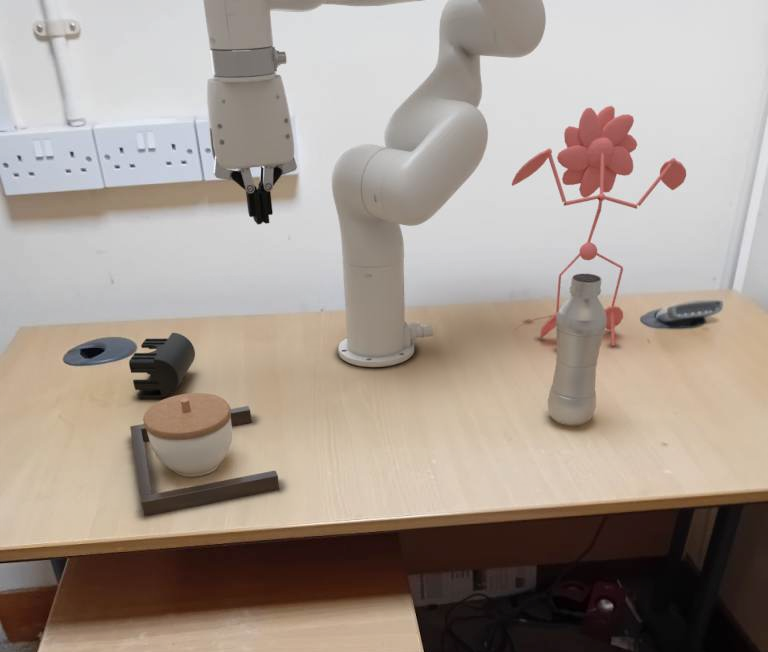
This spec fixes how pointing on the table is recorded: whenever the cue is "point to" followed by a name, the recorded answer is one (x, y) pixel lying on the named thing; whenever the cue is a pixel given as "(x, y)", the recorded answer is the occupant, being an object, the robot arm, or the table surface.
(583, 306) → the plastic bottle
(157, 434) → the trinket box
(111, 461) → the table surface
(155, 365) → the end cap
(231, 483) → the frame
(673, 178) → the figurine
